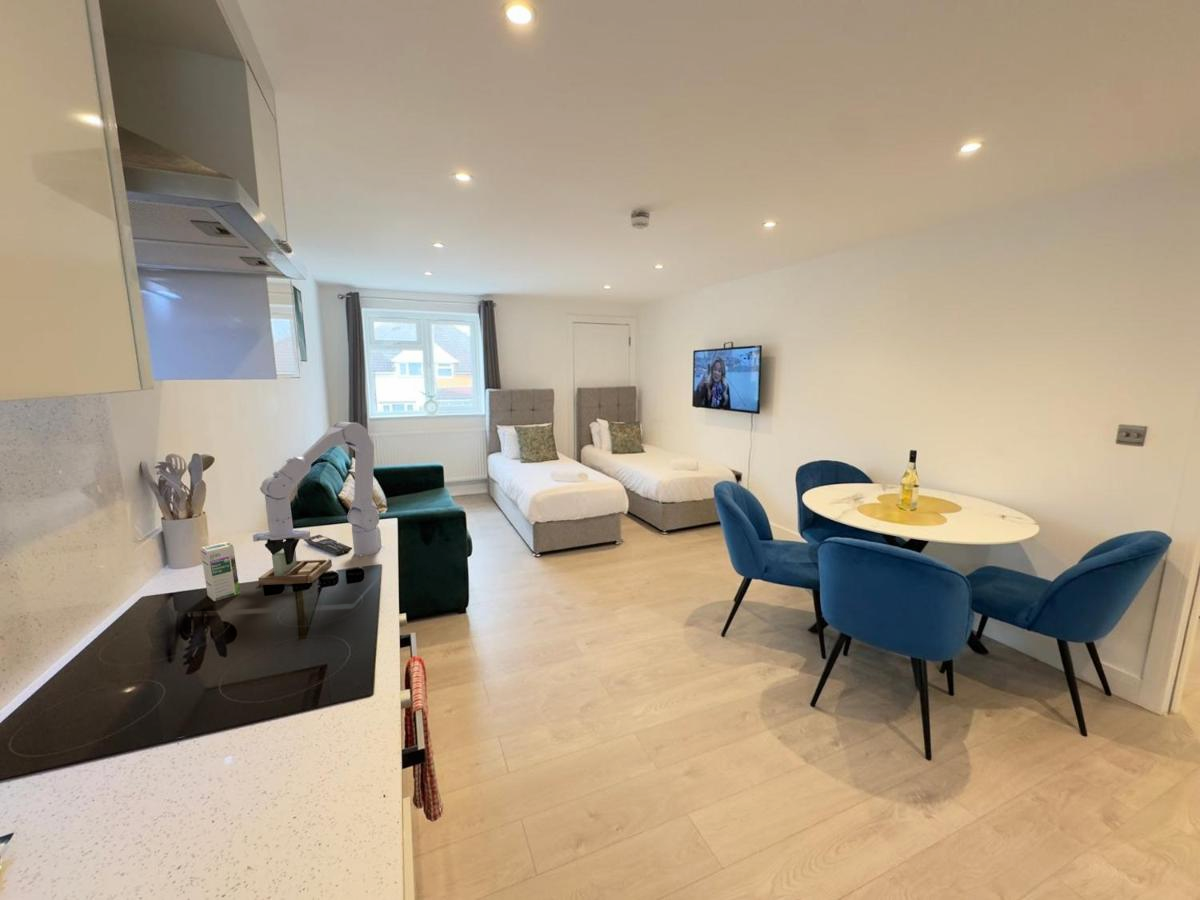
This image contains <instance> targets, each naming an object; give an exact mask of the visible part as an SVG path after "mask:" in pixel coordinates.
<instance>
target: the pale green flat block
mask: <svg viewBox="0 0 1200 900" xmlns="http://www.w3.org/2000/svg"><path fill="white" fill-rule="evenodd" d="M296 552H297V551H296V550H295V552H294V557H293V562H292V563H291V564H289V565H287V563H286V559H285V553H284V549H282V550H280V551H279V552H277V553H275V554H274V555H272V554H271V560H272V566H273V569H274V576H283V575H284V574H286V573H287V572H288V571H290V570H291V569H292V568H294V567H295V566H297V561H298V560H297V554H296Z"/></svg>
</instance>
